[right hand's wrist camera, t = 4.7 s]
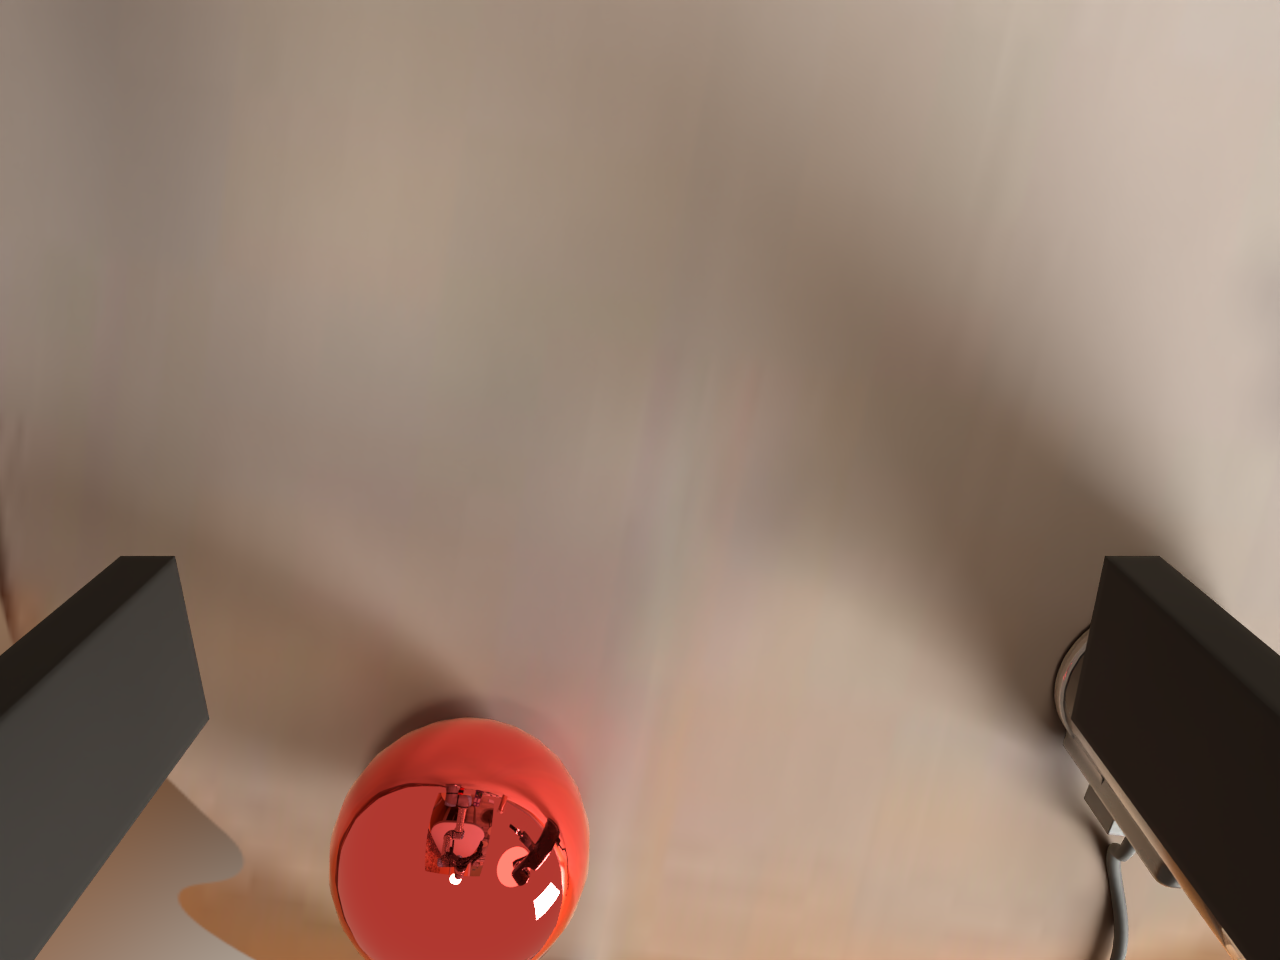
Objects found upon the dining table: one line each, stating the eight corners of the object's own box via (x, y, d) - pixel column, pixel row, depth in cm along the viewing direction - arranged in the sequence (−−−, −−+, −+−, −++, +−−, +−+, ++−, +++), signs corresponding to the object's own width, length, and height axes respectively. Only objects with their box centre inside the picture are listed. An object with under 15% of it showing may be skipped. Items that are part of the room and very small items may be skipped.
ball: (510, 885, 51) (474, 1097, 40) (328, 779, 48) (235, 975, 37) (641, 749, 48) (641, 940, 36) (453, 627, 45) (392, 793, 34)
